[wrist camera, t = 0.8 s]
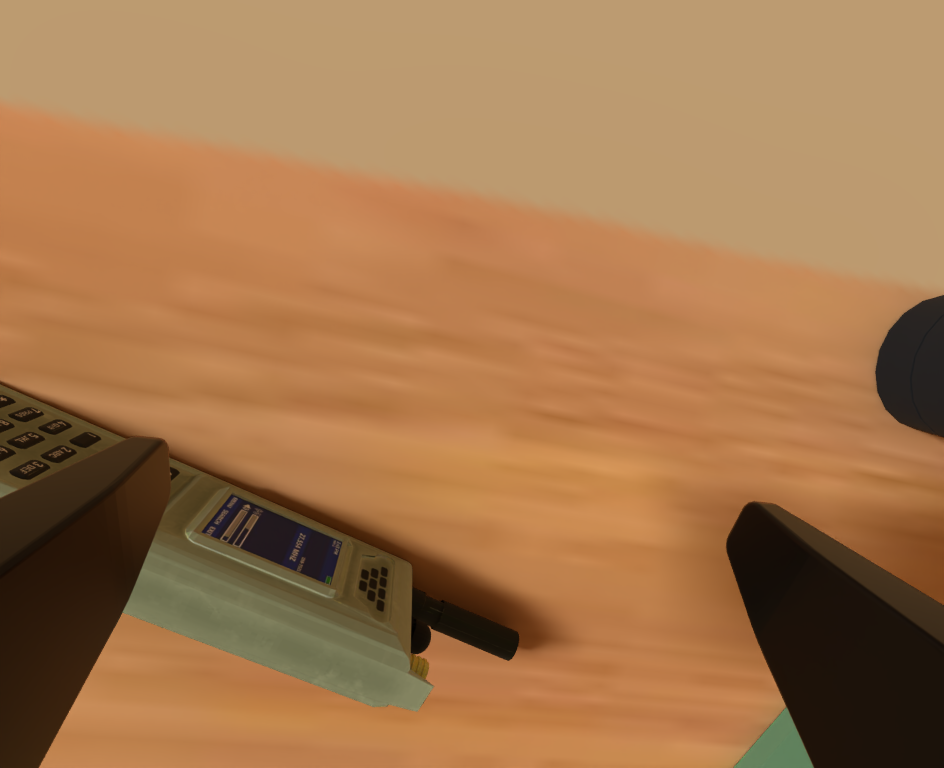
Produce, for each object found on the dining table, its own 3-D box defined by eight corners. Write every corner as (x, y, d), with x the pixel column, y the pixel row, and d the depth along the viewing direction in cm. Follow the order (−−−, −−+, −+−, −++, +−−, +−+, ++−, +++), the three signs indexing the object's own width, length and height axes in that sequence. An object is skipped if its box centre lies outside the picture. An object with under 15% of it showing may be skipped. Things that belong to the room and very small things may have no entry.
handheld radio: (-20, 358, 22) (527, 598, 26) (-48, 430, 22) (494, 654, 27) (-205, 400, 15) (562, 709, 20) (-239, 500, 16) (517, 779, 20)
